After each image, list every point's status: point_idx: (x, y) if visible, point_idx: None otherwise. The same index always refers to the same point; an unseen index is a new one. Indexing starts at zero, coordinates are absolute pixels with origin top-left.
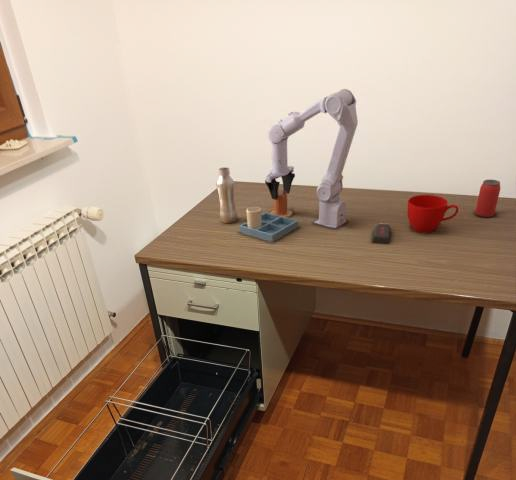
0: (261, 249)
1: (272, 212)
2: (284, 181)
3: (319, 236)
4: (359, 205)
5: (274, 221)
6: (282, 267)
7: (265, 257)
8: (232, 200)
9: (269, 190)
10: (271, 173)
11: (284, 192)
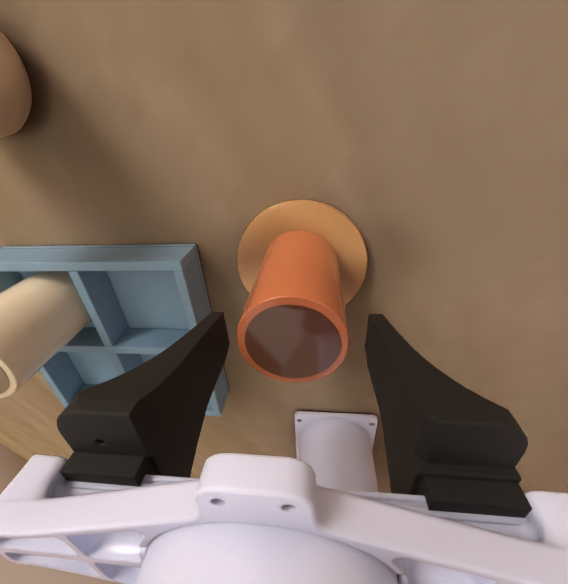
0: (33, 382)
1: (278, 223)
2: (394, 389)
3: (227, 449)
4: (549, 451)
5: (148, 352)
6: (41, 452)
7: (23, 410)
8: None
9: (167, 349)
10: (141, 516)
11: (311, 366)
